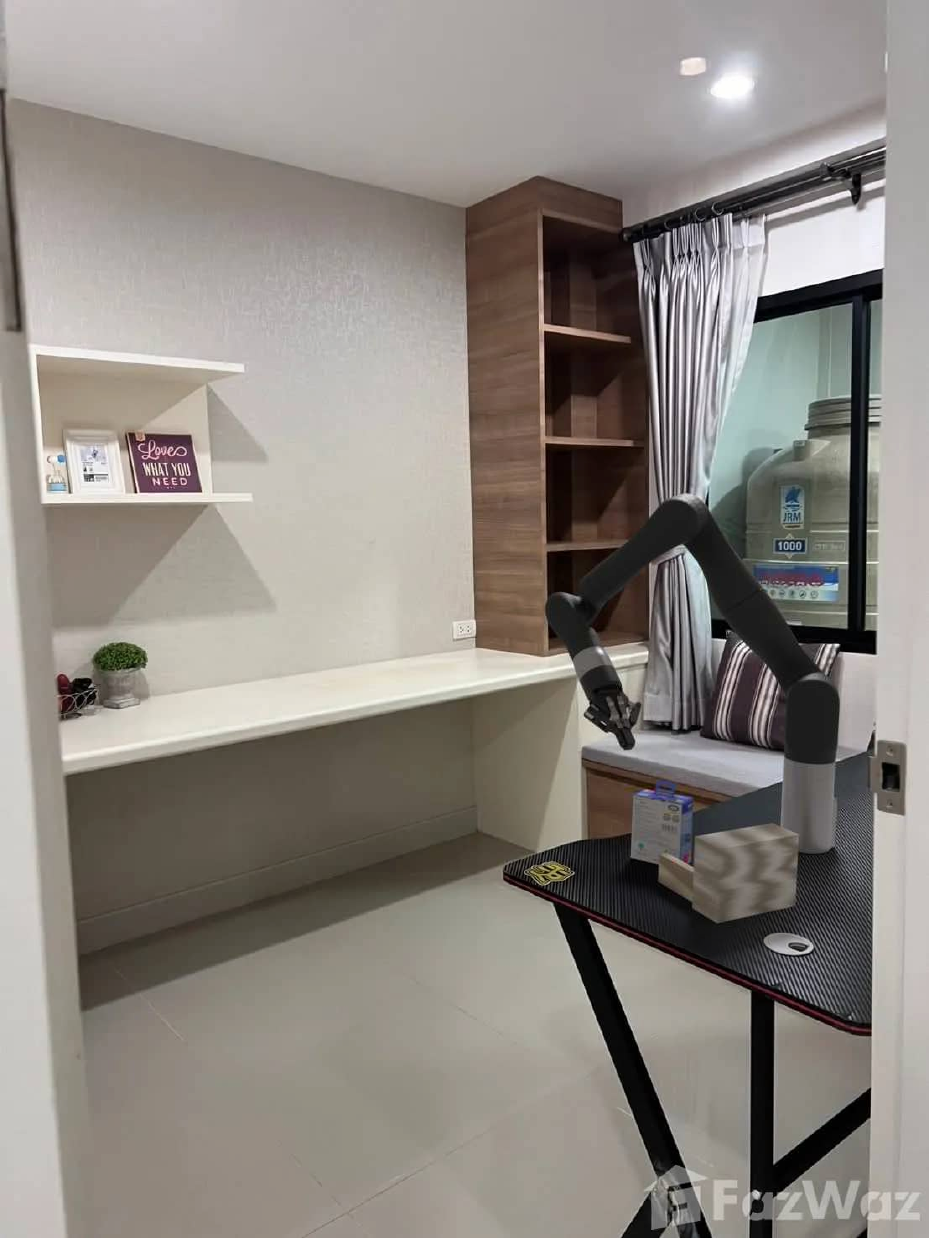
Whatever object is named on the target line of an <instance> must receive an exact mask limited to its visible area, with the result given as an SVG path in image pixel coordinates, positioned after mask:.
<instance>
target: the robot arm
mask: <svg viewBox="0 0 929 1238" xmlns="http://www.w3.org/2000/svg"><path fill="white" fill-rule="evenodd" d="M681 545H683V546H684V548H686V550H687V551H688V552H689V553H690V554H691V556H692V557H693V558H694V560H695V562H696V563H697V564H698V565H699V568H700V569H701V571H702V574H703V576H704V579H705V582H706V584H707V588H708V590H709V593H710V595H711V598H712V600H713V602H714V604H715V606H716V609H718V611H719V613H720V614H721V616H722V617H723V618H724V620H725V621H726V623H727V624H728V625H729V626H730V629H732V631H733V632H734V633H735V634H736V635H737V637H738V638H739V640H741V641H742V642H743V643H744V644H745V645H746V647H748V648H749V649H750V650H751V651H752V652H753V653H754V654H755V655H756V656H757V657H758V658H759V659H761V661H762V662H763V663H764V664H765V665H766V666H767V668H768V669H769V670H770V672H771V674H772V675H773V677H774V678H775V680H776V681H777V683H778V685H779V686H780V688H781V690H782V692H783V693H784V695H785V697H786V708H785V709H786V710H785V712H786V713H785V730H784V731H785V733H784V748H783V749H784V750H783V751H784V752H783V769H782V770H783V771H782V772H783V773H782V789H781V811H780V812H781V813H780V825H779V826H780V827H782V828H785V829H787V830H789V831H792V832H794V833H796V834H799V843H798V853H802V854H803V853H804V854H824V853H827V852H829V851H830V850H831V849H832V848H835V845H836V827H837V810H838V809H837V808H838V799H837V798H836V797H834V795H835V779H836V777H835V776H836V763H837V762H836V760H837V759H836V758H837V751H838V750H837V749H838V742H839V728H840V727H839V726H840V715H841V714H840V713H841V712H840V711H841V710H840V709H841V701H840V694H839V691H838V689H837V688H838V687H837V686H836V685H835V682H834V681H833V680H831V678H830V677H829V676H828V675H827V674H826V673H825V672H824V671H823V670H822V668H820V667H819V666H818V665H817V663H816V662H815V661H814V660H813V658H811V656H809V655H808V653H807V652H806V651H805V650H804V649H803V647H802V646H801V644H800V643H799V641H798V640H797V638H796V636H795V635H794V633H793V631H792V630H791V627H790V626H789V623H788V622H787V620H786V619H785V618H784V615H783V613H781V611H780V609H779V608H778V606H777V605H776V604H775V602H774V600H773V599H772V598H771V596H770V595H769V594H768V592H767V591H766V589H765V588H764V587H763V585H762V584H761V583H760V582H759V580H758V579H757V578H756V577H755V575H754V574H753V573H752V572H751V569H749V567H748V566H747V565H746V564H745V562H744V560H742V558H741V557H740V556H739V554H738V553H737V552H736V551H735V550H734V548H733V547H732V546H731V544H730V542H729V541H728V540H727V538H726V537H725V534H724V533H723V531H722V529H721V528H720V527H719V525H718V523H717V521H716V519H715V518H714V515H713V514H712V513H711V510H710V509H709V508H708V506H707V504H706V503H705V502H704V501H703V500H702V499H701V498H700V497H698V496H696V494H691V493H686V492H685V493H679V494H676V495H674V496H671V497H669V498H666V499H665V500H663V501H661V503H660V504H659V505H658V507H657V508H656V509H655V510H654V512H653V513H652V514H651V515H650V516H649V517H648V518H647V520H646V521H645V522H644V523H643V525H641V527H640V528H639V529H638V531H636V532H635V533H634V534H633V535H632V537H630V538H629V539H628V540H627V541H625V543H623V545H621V546H620V547H619V548H617V549H616V550H615V551H614V552H612V553H611V554H609V556H608V557H606V558H605V559H604V560H602V561H601V562H600V563H598V564H597V565H596V566H595V567H594V568H593V569H592V570H590V571H589V572H588V573H587V574H586V575H584V576H583V577H582V578H581V580H580V581H579V585H578V586H579V587H578V588H579V592H580V593H581V594H579V595H578V596H576V595H573V594H570V593H567V592H564V591H563V592H562V591H559V592H558V591H557V592H554V593H552V594H550V595H549V597H547V599H546V602H545V605H544V614H545V618H546V620H547V623H548V624H549V627H550V628H551V629H552V630H553V632H554V633H555V635H556V636H557V637H558V639H559V640H560V641H561V642H562V644H564V646H565V647H566V650H567V653H568V655H569V658H570V659H571V661H572V664H573V668H574V671H575V674H576V677H577V679H578V681H579V683H580V686H581V688H582V690H583V692H584V695H585V698H586V699H587V700H588V704H589V706H588V707H587V708H586V710H585V711H584V712H583V715H582V716H583V717H584V718H585V719H587V720H588V721H589V722H591V723H592V724H593V725H594V726H596V727H597V728H598V729H600V730H601V731H602V732H604V733H605V734H608V733H612V734H613V735H614V736H615V738H616V740H617V743H618V745H619V746H620V748H622V750H623V751H632V750H633V748H634V747H635V745H636V738H635V737H634V734H633V732H632V729H633V728H634V727H635V726H636V725H637V723H638V719H639V715H640V713H641V708H642V703H641V702H640V701H636V702H633V701H631V700H630V699H629V697H628V695H626V693H625V691H624V689H623V683H622V681H621V679H620V677H619V675H618V673H617V671H616V668H615V666H614V664H613V661H612V659H611V658H610V656H609V654H608V653H607V651H606V649H605V648H604V646H603V644H602V641H601V639H600V637H599V635H598V633H597V632H596V630H595V629H594V628H593V627H590V626H589V625H590V624H591V623H592V622H593V621H594V619H595V618H596V617H597V615H598V614H599V613H600V611H601V610H602V609H603V608H604V606H605V604H606V603H607V602H608V601H609V600H611V599H612V598H613V597H615V596H616V595H617V594H618V593H620V592H621V591H622V590H623V589H624V588H626V587H627V586H628V584H630V583H631V582H632V581H633V580H634V579H635V578H636V577H637V576H638V575H639V574H640V573H641V572H642V571H643V570H644V569H645V568H646V567H648V566H649V564H651V563H652V562H654V561H655V560H656V559H658V558H659V557H660V556H663V555H664V554H666V553H668V552H669V551H671V550H674V549H675V548H677V547H679V546H681Z"/></svg>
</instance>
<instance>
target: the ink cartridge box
mask: <svg viewBox="0 0 929 1238" xmlns="http://www.w3.org/2000/svg"><path fill="white" fill-rule="evenodd" d="M676 785H677V783H676V782H671V781H665V780H661V779H658V780H657V783H656V785H655V788H654V790H651V789H643V790H640V791H639V792H637V793H635V794H633V795H632V797H633V799H632V821H631V823H632V824H631V843H630V859H634V860H638V861H643V862H647V863H651V864H655V865H658V866H659V854H662V853H668V854H670V855H672V856H674V857H675V858H677V859H679V860H681V861H683V862H685V863H686V864H688V865H690V863H691V861H692V860H691V859H692V836H693V835H692V833H693V815H694V814H693V812H694V811H693V809H694V797H691V796H685V795H680V794H675V791H676ZM660 786H667V787H670V788H671V789H670V790H669V789H664V788H660Z"/></svg>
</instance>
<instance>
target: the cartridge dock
mask: <svg viewBox="0 0 929 1238" xmlns="http://www.w3.org/2000/svg"><path fill="white" fill-rule="evenodd" d="M780 826H781V825H778V824H775V823H773V822H771V823H765V824H760V825H753V826H747V827H741V828H736V829H731V830H725V831H724V830H723V831H717V832H713V833H707V834H701V835H696V836H694V855H693V856H694V857H693V866H691V865H690V864H686V863H685V862H683V861H681V860H679V859H677V858H675V857H674V856H672V855H670V854H668V853H662V854H659V865H658V883H660V884H661V885H663V886H665V887H666V888H668V889H670V890H671V891H673V892H675V893H676V894H677V895H679V896H681V897H683V898H685V899H686V900H688V901H689V902H691V903H692V905H691V906H692V907H691V909H692V910H694V911H696V912H698V913H699V914H702V915H703V916H704V917H706V918H708V920H711V921H712V922H714V923H715V924H720V923H726V922H728V921H729V922H731V921H733V920H738V919H743V918H747V917H751V916H756V915H761V914H765V913H768V912H769V913H770V912H773V911H779V910H782V909H788V908H791V907H795V906H796V897H797V896H796V895H797V879H798V878H797V875H798V863H799V862H798V861H799V860H798V859H799V857H798V856H799V852H798V843H799V834H796V833H794V832H792V831H789V830H787V829H785V828H782V827H780Z"/></svg>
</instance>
